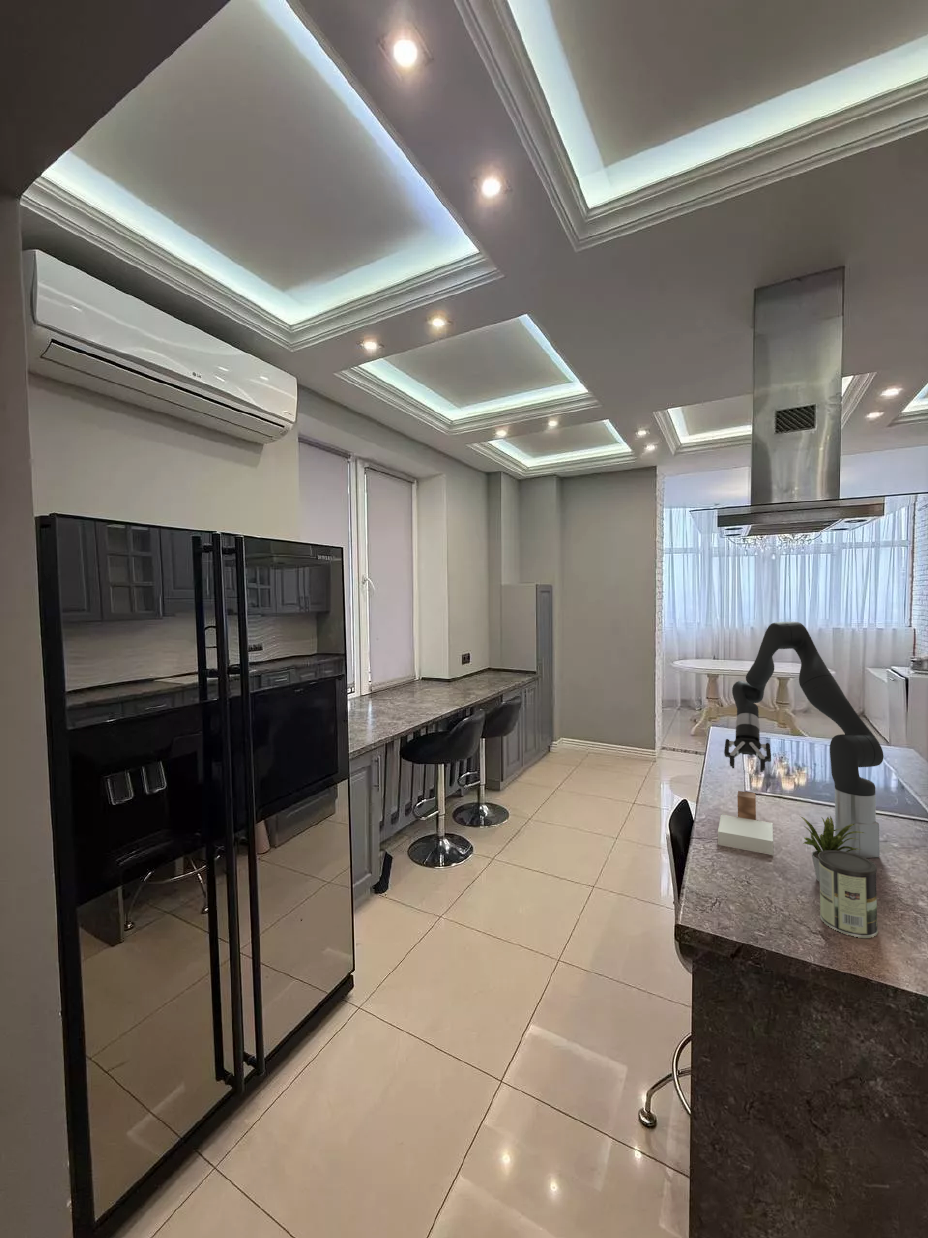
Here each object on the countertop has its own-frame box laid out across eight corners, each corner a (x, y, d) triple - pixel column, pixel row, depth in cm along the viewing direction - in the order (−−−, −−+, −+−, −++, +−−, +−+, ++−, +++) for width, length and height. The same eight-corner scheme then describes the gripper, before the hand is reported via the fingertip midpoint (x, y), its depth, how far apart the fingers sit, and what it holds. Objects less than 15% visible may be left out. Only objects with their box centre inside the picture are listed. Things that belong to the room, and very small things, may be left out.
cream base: (772, 835, 154) (772, 822, 154) (773, 855, 142) (773, 841, 142) (721, 827, 161) (721, 814, 161) (718, 844, 149) (717, 831, 149)
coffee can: (853, 909, 116) (852, 849, 116) (890, 938, 106) (889, 872, 106) (808, 910, 116) (807, 849, 116) (840, 939, 106) (839, 873, 106)
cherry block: (756, 822, 164) (755, 793, 164) (755, 828, 160) (755, 798, 160) (738, 819, 167) (738, 790, 167) (738, 825, 163) (737, 795, 163)
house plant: (882, 902, 119) (881, 833, 118) (816, 897, 121) (815, 830, 121) (849, 871, 133) (848, 810, 132) (791, 867, 135) (790, 807, 135)
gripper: (724, 721, 184) (723, 760, 175) (770, 724, 177) (771, 766, 167) (726, 732, 189) (724, 771, 179) (770, 736, 182) (771, 777, 172)
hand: (747, 769), depth 173 cm, fingers open, 8 cm apart
